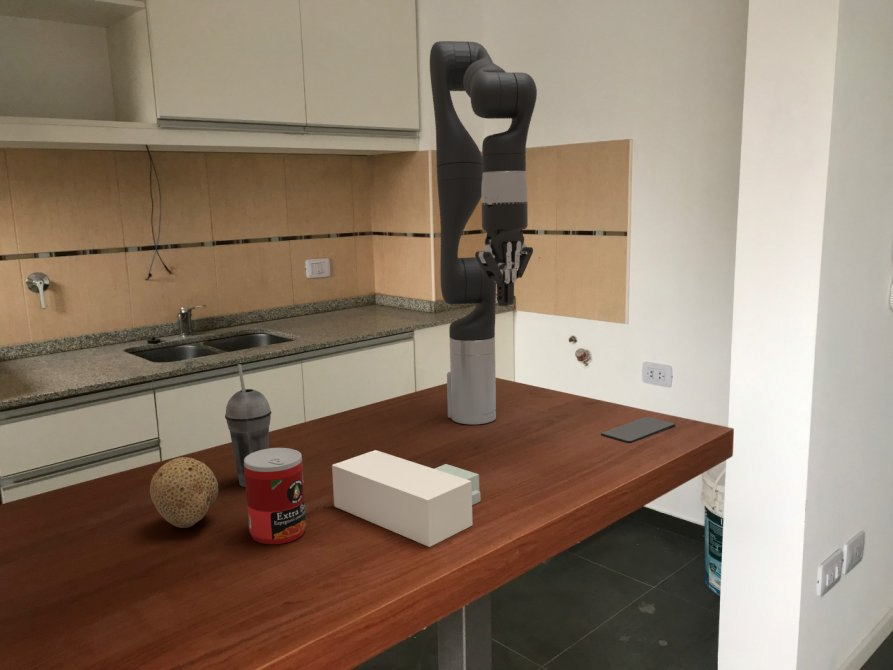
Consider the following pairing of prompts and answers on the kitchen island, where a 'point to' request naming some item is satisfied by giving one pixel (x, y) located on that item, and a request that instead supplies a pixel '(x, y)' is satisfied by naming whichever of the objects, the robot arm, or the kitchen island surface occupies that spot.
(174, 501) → the natural sponge
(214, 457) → the kitchen island surface
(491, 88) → the robot arm
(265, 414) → the beverage cup
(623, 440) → the smartphone
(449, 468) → the sage green bar
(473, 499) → the cream rectangular prism
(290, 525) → the canned food
